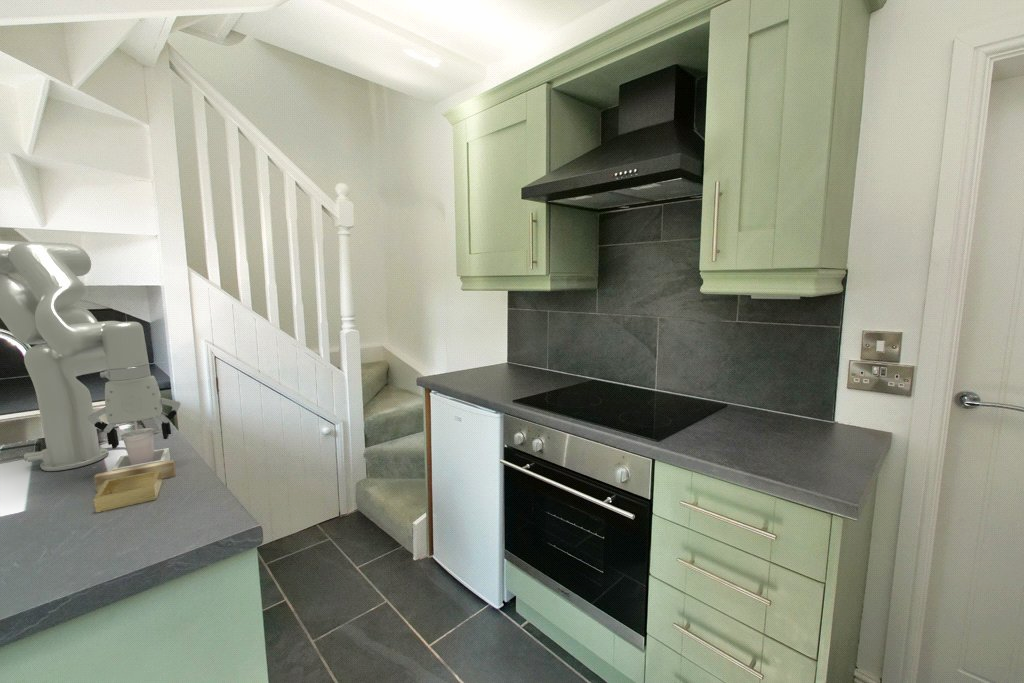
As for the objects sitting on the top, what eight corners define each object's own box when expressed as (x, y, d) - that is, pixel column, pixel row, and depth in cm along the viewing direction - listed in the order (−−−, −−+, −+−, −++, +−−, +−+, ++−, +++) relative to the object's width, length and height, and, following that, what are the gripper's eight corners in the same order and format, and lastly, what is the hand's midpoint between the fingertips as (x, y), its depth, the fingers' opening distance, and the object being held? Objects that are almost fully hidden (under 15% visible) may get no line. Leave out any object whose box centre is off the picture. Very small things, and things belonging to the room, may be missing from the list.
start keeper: (113, 482, 103) (111, 470, 103) (122, 467, 111) (120, 456, 111) (165, 472, 108) (163, 460, 108) (170, 458, 116) (168, 447, 116)
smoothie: (120, 477, 106) (111, 420, 104) (135, 466, 112) (127, 412, 110) (152, 473, 107) (144, 418, 105) (165, 463, 113) (157, 410, 111)
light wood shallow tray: (95, 512, 90) (93, 498, 89) (107, 493, 98) (105, 480, 97) (156, 499, 95) (154, 486, 94) (162, 482, 103) (160, 469, 102)
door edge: (96, 492, 98) (94, 477, 98) (98, 488, 100) (96, 473, 99) (174, 476, 106) (173, 462, 105) (175, 473, 107) (174, 459, 107)
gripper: (76, 382, 98) (89, 455, 101) (173, 370, 107) (183, 438, 110) (85, 376, 104) (98, 445, 107) (176, 366, 113) (186, 430, 116)
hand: (141, 442), depth 108 cm, fingers open, 9 cm apart
